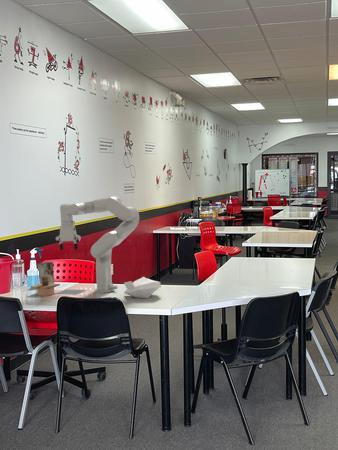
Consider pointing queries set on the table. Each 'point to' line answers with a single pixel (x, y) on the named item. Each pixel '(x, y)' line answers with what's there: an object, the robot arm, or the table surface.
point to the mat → (71, 292)
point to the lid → (45, 284)
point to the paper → (141, 287)
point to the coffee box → (46, 271)
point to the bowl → (45, 292)
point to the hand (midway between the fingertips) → (69, 250)
